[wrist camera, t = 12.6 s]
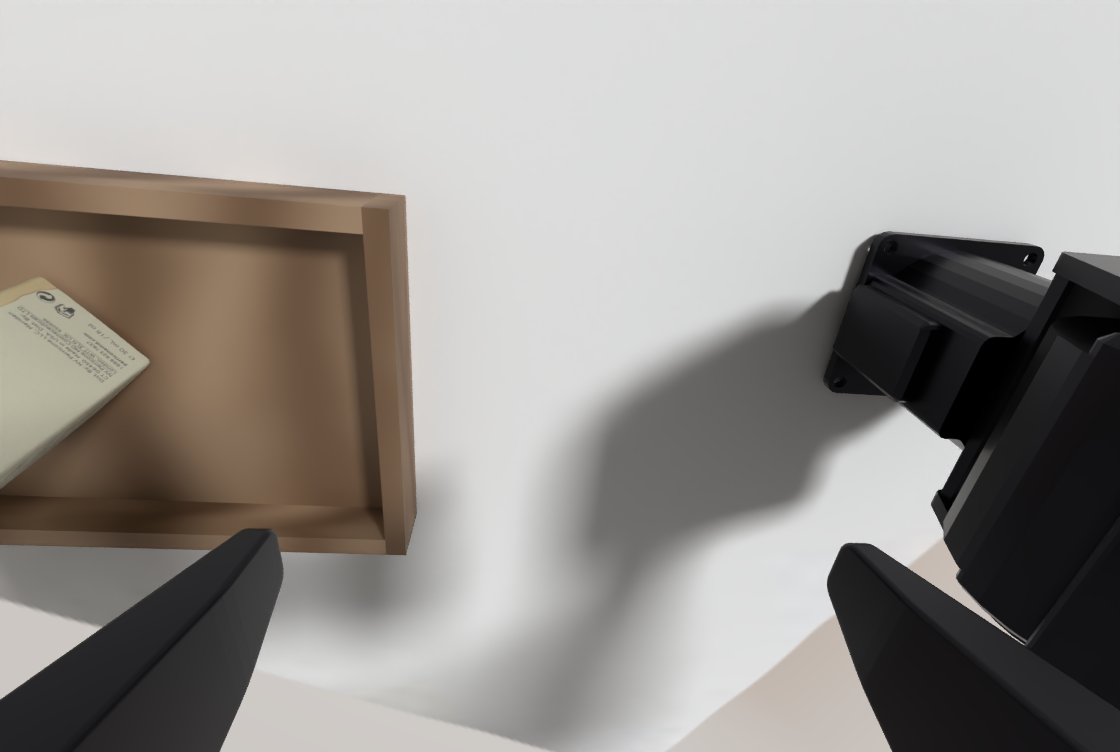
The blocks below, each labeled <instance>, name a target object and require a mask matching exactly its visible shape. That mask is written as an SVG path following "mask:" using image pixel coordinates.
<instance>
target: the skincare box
mask: <svg viewBox="0 0 1120 752" xmlns="http://www.w3.org/2000/svg"><path fill="white" fill-rule="evenodd" d="M149 364H150V361H149V359H148V358H147V357H145V356H144V355H142V354H141V353H140V352H139V351H137V350H136V349H135V348H134V347H132V346H131V345H130V344H129V343H127V342H126V341H125V340H124V339H122V338H121V337H120V336H119V335H118V334H116V333H115V332H114V331H113V330H111V329H110V328H108V327H107V326H106V325H105V324H104V323H102V322H101V321H100V320H98V319H97V318H96V317H94V316H93V315H92V314H91V313H89V312H88V311H87V310H86V309H84V308H83V307H82V306H80V305H79V304H78V303H76V302H75V301H74V300H73V299H71V298H70V297H69V296H67V295H66V294H65V293H63V292H62V291H60V290H59V289H58V288H56V287H55V286H54V285H52V284H51V283H50V282H49V281H47V280H46V279H44V278H43V277H40V276H37V277H33V278H31V279H28V280H26V281H23V282H21V283H19V284H16V285H14V286H11V287H9V288H6V289H4V290H2V291H0V489H1V488H2V487H4V486H5V485H6V484H7V483H9V482H10V481H11V480H13V479H14V478H15V477H16V476H18V475H19V474H20V473H21V472H23V471H24V470H25V469H27V468H28V467H29V466H30V465H32V464H33V463H34V462H36V461H37V460H38V459H39V458H41V457H42V456H43V455H45V454H46V453H47V452H48V451H50V450H51V449H52V448H54V447H55V446H56V445H57V444H59V443H60V442H61V441H62V440H64V439H65V438H66V437H67V436H69V435H70V434H71V433H72V432H73V431H75V430H76V429H77V428H78V427H80V426H81V425H82V424H83V423H84V422H86V421H87V420H88V419H89V418H90V417H92V416H93V415H94V414H95V413H96V412H97V411H99V410H100V409H101V408H102V407H103V406H104V405H106V404H107V403H108V402H109V401H110V400H111V399H113V398H114V397H115V396H116V395H117V394H118V393H119V392H120V391H122V390H123V389H124V388H125V387H126V386H127V385H128V384H129V383H130V382H132V381H133V380H134V379H135V378H136V377H137V376H138V375H139V374H140V373H141V372H142V371H143V370H144V369H146V368H147V367H148V366H149Z"/></svg>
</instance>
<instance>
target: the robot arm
mask: <svg viewBox="0 0 1120 752" xmlns="http://www.w3.org/2000/svg"><path fill="white" fill-rule="evenodd" d="M890 241H891V247H890V248H889V249H888V250H887V251H885V252H884V247H885V245H886V244H887V243H888V242H890ZM1028 254H1029V255H1028ZM1027 255H1028V258H1027V259H1026V260H1025V261H1024V258H1025V257H1026V256H1027ZM1043 258H1044V251H1043V249H1042V248H1041V247H1038V246H1035V245H1031V244H1028V243H1016V242H1005V241H993V240H982V239H971V238H959V237H948V236H937V235H925V234H914V233H902V232H891V231H888V232H883V233H881V234H879V235H878V236H877V237H876V238H875V239H874V241H873V242H872V244H871V247H870V250H869V253H868V256H867V258H866V261H865V264H864V267H863V270H862V272H861V275H860V278H859V281H858V283H857V286H856V288H855V289H854V290H853V293H852V295H851V298H850V301H849V304H848V307H847V309H846V312H845V315H844V318H843V321H842V323H841V326H840V329H839V332H838V335H837V337H836V340H835V343H834V346H833V348H834V350H833V353H832V356H831V359H830V362H829V364H828V367H827V370H826V373H825V375H824V380H823V381H824V384H825V385H826V386H827V387H828V388H829V389H830V390H831V391H832V392H835V393H848V394H865V395H883V396H888V397H889V398H890V399H892V400H893V401H895V402H898V403H900V404H901V405H902V406H903V407H904V408H906V409H907V410H908V411H909V412H911V413H912V414H913V415H914V416H915V417H917V418H918V419H919V420H920V421H921V422H923V423H924V424H925V425H926V426H927V427H929V428H930V429H931V430H932V431H933V432H935V433H936V434H937V435H938V436H940V437H941V438H944V439H949V440H950V441H952V442H953V443H954V444H955V445H956V446H958V447H959V448H960V449H961V450H963V451H962V453H961V455H960V457H959V459H958V460H957V462H956V464H955V466H954V468H953V470H952V472H951V474H950V476H949V477H948V479H947V481H946V483H945V485H944V487H943V489H942V490H938V491H937V492H936V494H935V496H934V498H933V500H932V502H931V506H932V508H933V510H934V512H935V514H936V516H937V518H938V520H939V522H940V524H941V527H942V529H943V531H944V541H945V543H946V545H947V547H948V549H949V551H950V553H951V555H952V556H953V558H954V560H955V562H956V564H957V565H958V567H959V568H960V569H959V571H958V573H957V574H956V579H957V580H958V582H959V584H960V585H961V586H962V588H963V589H964V590H965V591H966V592H967V593H968V594H969V595H970V596H971V597H972V598H973V600H974V601H975V602H976V603H977V604H978V605H979V606H980V607H981V608H982V609H983V610H984V611H985V612H987V613H988V614H989V615H990V616H991V617H992V618H993V619H994V620H995V621H996V622H997V623H998V624H999V625H1000V626H1002V627H1003V628H1004V629H1005V630H1006V631H1007V632H1008V633H1010V634H1011V635H1012V636H1013V637H1015V638H1016V639H1018V640H1019V641H1020V642H1022V643H1023V644H1025V645H1023V644H1021V643H1020V642H1018V641H1016V640H1015V639H1014V638H1012V637H1011V636H1009V635H1008V634H1006V633H1004V632H1003V631H1001V630H1000V629H998V628H997V627H995V626H994V625H992V624H991V623H989V622H988V621H986V620H985V619H983V618H982V617H980V616H979V615H977V614H976V613H974V612H973V611H971V610H970V609H968V608H967V607H965V606H964V605H962V604H961V603H959V602H958V601H956V600H955V599H953V598H952V597H950V596H949V595H947V594H946V593H944V592H943V591H941V590H940V589H938V588H937V587H935V586H934V585H932V584H931V583H929V582H928V581H926V580H925V579H923V578H922V577H920V576H919V575H917V574H916V573H914V572H913V571H911V570H910V569H908V568H907V567H905V566H904V565H902V564H901V563H899V562H898V561H896V560H895V559H893V558H892V557H890V556H889V555H887V554H886V553H884V552H883V551H881V550H880V549H878V548H877V547H875V546H873V545H871V544H867V543H846V544H844V545H843V546H842V547H841V549H840V551H839V553H838V555H837V557H836V560H835V562H834V564H833V566H832V569H831V571H830V573H829V575H828V579H827V589H828V593H829V596H830V599H831V602H832V605H833V608H834V610H835V613H836V616H837V619H838V621H839V624H840V627H841V630H842V633H843V635H844V638H845V641H846V644H847V647H848V649H849V652H850V655H851V658H852V660H853V663H854V666H855V669H856V671H857V674H858V677H859V679H860V682H861V684H862V687H863V689H864V691H865V693H866V696H867V698H868V700H869V703H870V705H871V707H872V709H873V711H874V713H875V716H876V718H877V720H878V722H879V724H880V726H881V728H882V731H883V733H884V735H885V737H886V739H887V741H888V744H889V745H890V748H891V750H892V752H1120V256H1109V255H1098V254H1086V253H1074V252H1062V253H1061V255H1060V257H1059V259H1058V261H1057V263H1056V265H1055V267H1054V269H1053V270H1052V271H1053V272H1054V273H1056V274H1055V276H1054V278H1053V280H1052V281H1051V280H1048V279H1046V278H1043V277H1040V276H1037V275H1036V273H1037V271H1038V269H1039V267H1040V265H1041V263H1042V261H1043ZM1023 261H1024V262H1023ZM839 377H841V379H840V381H838V382H837V383H834V382H835V380H836V379H837V378H839ZM282 580H283V563H282V558H281V553H280V548H279V543H278V538H277V534H276V532H275V531H274V530H273V529H270V528H245V529H243V530H241V531H239V532H238V533H236V534H235V535H233V536H232V537H230V538H229V539H228V540H226V541H225V542H223V543H222V544H221V545H219V546H218V547H216V548H215V549H213V550H212V551H211V552H209V553H208V554H206V555H205V556H204V557H202V558H201V559H199V560H198V561H196V562H195V563H194V564H192V565H191V566H189V567H188V568H186V569H185V570H184V571H182V572H181V573H179V574H178V575H177V576H175V577H174V578H172V579H171V580H169V581H168V582H167V583H165V584H164V585H162V586H161V587H160V588H158V589H157V590H155V591H154V592H152V593H151V594H150V595H148V596H147V597H145V598H144V599H142V600H141V601H140V602H138V603H137V604H135V605H134V606H133V607H131V608H130V609H128V610H127V611H125V612H124V613H123V614H121V615H120V616H118V617H117V618H115V619H114V620H113V621H111V622H110V623H108V624H107V625H106V626H104V627H103V628H101V629H100V630H98V631H97V632H96V633H94V634H93V635H91V636H90V637H89V638H87V639H86V640H84V641H83V642H81V643H80V644H79V645H77V646H76V647H74V648H73V649H72V650H70V651H69V652H67V653H66V654H64V655H63V656H62V657H60V658H59V659H57V660H56V661H55V662H53V663H52V664H50V665H49V666H47V667H46V668H44V669H43V670H42V671H40V672H39V673H37V674H36V675H35V676H33V677H32V678H30V679H29V680H27V681H26V682H25V683H24V684H22V685H20V686H19V687H18V688H16V689H15V690H13V691H12V692H11V693H9V694H8V695H6V696H5V697H3V698H2V699H0V752H220V749H221V747H222V745H223V742H224V740H225V738H226V736H227V733H228V731H229V729H230V727H231V725H232V722H233V720H234V718H235V716H236V713H237V711H238V709H239V707H240V704H241V702H242V700H243V697H244V695H245V692H246V690H247V687H248V685H249V682H250V679H251V676H252V673H253V671H254V668H255V665H256V662H257V658H258V655H259V652H260V649H261V646H262V643H263V640H264V637H265V634H266V631H267V628H268V625H269V621H270V618H271V615H272V612H273V609H274V606H275V603H276V600H277V597H278V594H279V591H280V588H281V584H282Z"/></svg>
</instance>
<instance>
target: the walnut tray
mask: <svg viewBox="0 0 1120 752" xmlns="http://www.w3.org/2000/svg"><path fill="white" fill-rule="evenodd" d="M37 276H40V277H43V278H44V279H46V280H47V281H49V282H50V283H51V284H52V285H54V286H55V287H56V288H58V289H59V290H60V291H62V292H63V293H65V294H66V295H67V296H69V297H70V298H71V299H73V300H74V301H75V302H76V303H78V304H79V305H80V306H82V307H83V308H84V309H86V310H87V311H88V312H89V313H91V314H92V315H93V316H94V317H96V318H97V319H98V320H100V321H101V322H102V323H104V324H105V325H106V326H107V327H108V328H110V329H111V330H113V331H114V332H115V333H116V334H118V335H119V336H120V337H121V338H122V339H124V340H125V341H126V342H127V343H129V344H130V345H131V346H132V347H134V348H135V349H136V350H137V351H139V352H140V353H141V354H142V355H144V356H145V357H147V358H148V359H149V361H150V364H149V366H148V367H147V368H146V369H144V370H143V371H142V372H141V373H140V374H139V375H138V376H137V377H136V378H135V379H134V380H133V381H132V382H130V383H129V384H128V385H127V386H126V387H125V388H124V389H123V390H122V391H120V392H119V393H118V394H117V395H116V396H115V397H114V398H113V399H111V400H110V401H109V402H108V403H107V404H106V405H104V406H103V407H102V408H101V409H100V410H99V411H97V412H96V413H95V414H94V415H93V416H92V417H90V418H89V419H88V420H87V421H86V422H84V423H83V424H82V425H81V426H80V427H78V428H77V429H76V430H75V431H73V432H72V433H71V434H70V435H69V436H67V437H66V438H65V439H64V440H62V441H61V442H60V443H59V444H57V445H56V446H55V447H54V448H52V449H51V450H50V451H48V452H47V453H46V454H45V455H43V456H42V457H41V458H39V459H38V460H37V461H36V462H34V463H33V464H32V465H30V466H29V467H28V468H27V469H25V470H24V471H23V472H21V473H20V474H19V475H18V476H16V477H15V478H14V479H13V480H11V481H10V482H9V483H7V484H6V485H5V486H4V487H2V488H1V489H0V545H37V546H76V547H115V548H154V549H192V550H213V549H215V548H216V547H218V546H219V545H221V544H222V543H223V542H225V541H226V540H228V539H229V538H230V537H232V536H233V535H235V534H236V533H238V532H239V531H241V530H243V529H245V528H270V529H273V530H274V531H275V532H276V534H277V538H278V543H279V548H280V552H309V553H347V554H386V555H406V553H407V549H408V545H409V541H410V537H411V533H412V530H413V526H414V522H415V518H416V514H417V510H416V482H415V454H414V426H413V398H412V370H411V342H410V313H409V285H408V257H407V229H406V201H405V195H394V194H382V193H371V192H359V191H348V190H336V189H325V188H313V187H302V186H290V185H279V184H267V183H256V182H244V181H233V180H221V179H209V178H198V177H186V176H175V175H163V174H152V173H140V172H129V171H117V170H106V169H94V168H83V167H71V166H60V165H48V164H37V163H25V162H13V161H2V160H0V291H2V290H4V289H6V288H9V287H11V286H14V285H16V284H19V283H21V282H23V281H26V280H28V279H31V278H33V277H37Z"/></svg>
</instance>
